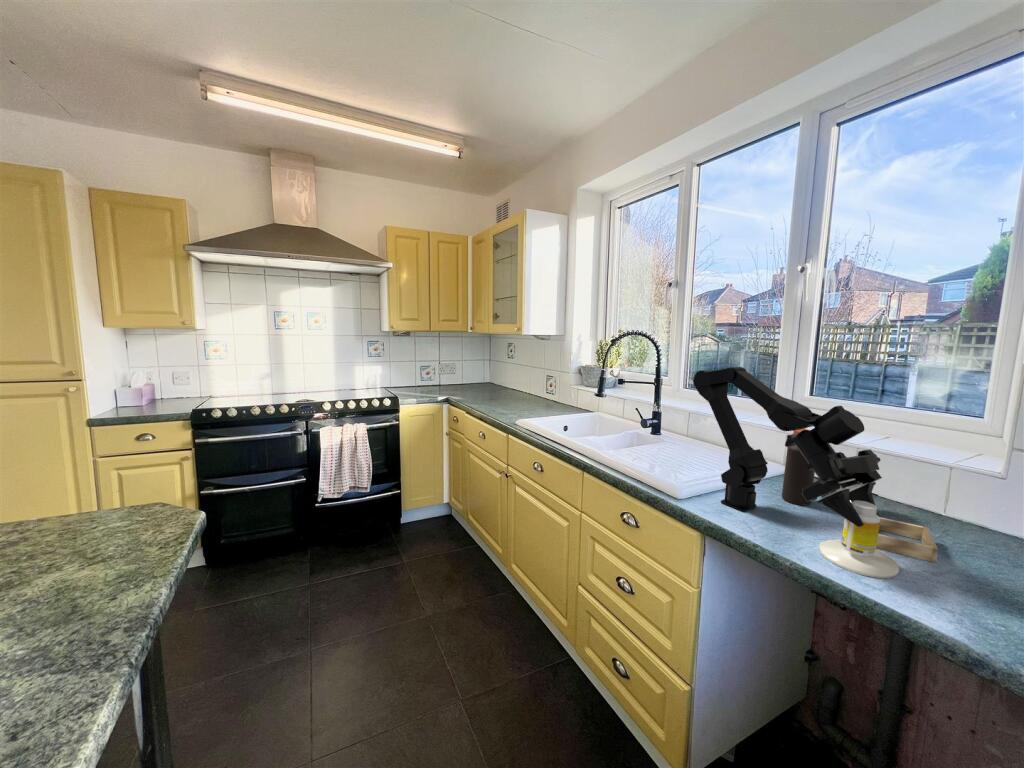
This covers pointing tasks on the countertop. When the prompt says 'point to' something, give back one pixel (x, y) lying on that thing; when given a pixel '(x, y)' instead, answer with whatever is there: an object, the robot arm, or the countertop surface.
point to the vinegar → (796, 475)
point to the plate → (859, 560)
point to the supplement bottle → (862, 530)
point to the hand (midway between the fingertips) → (869, 523)
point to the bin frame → (903, 546)
